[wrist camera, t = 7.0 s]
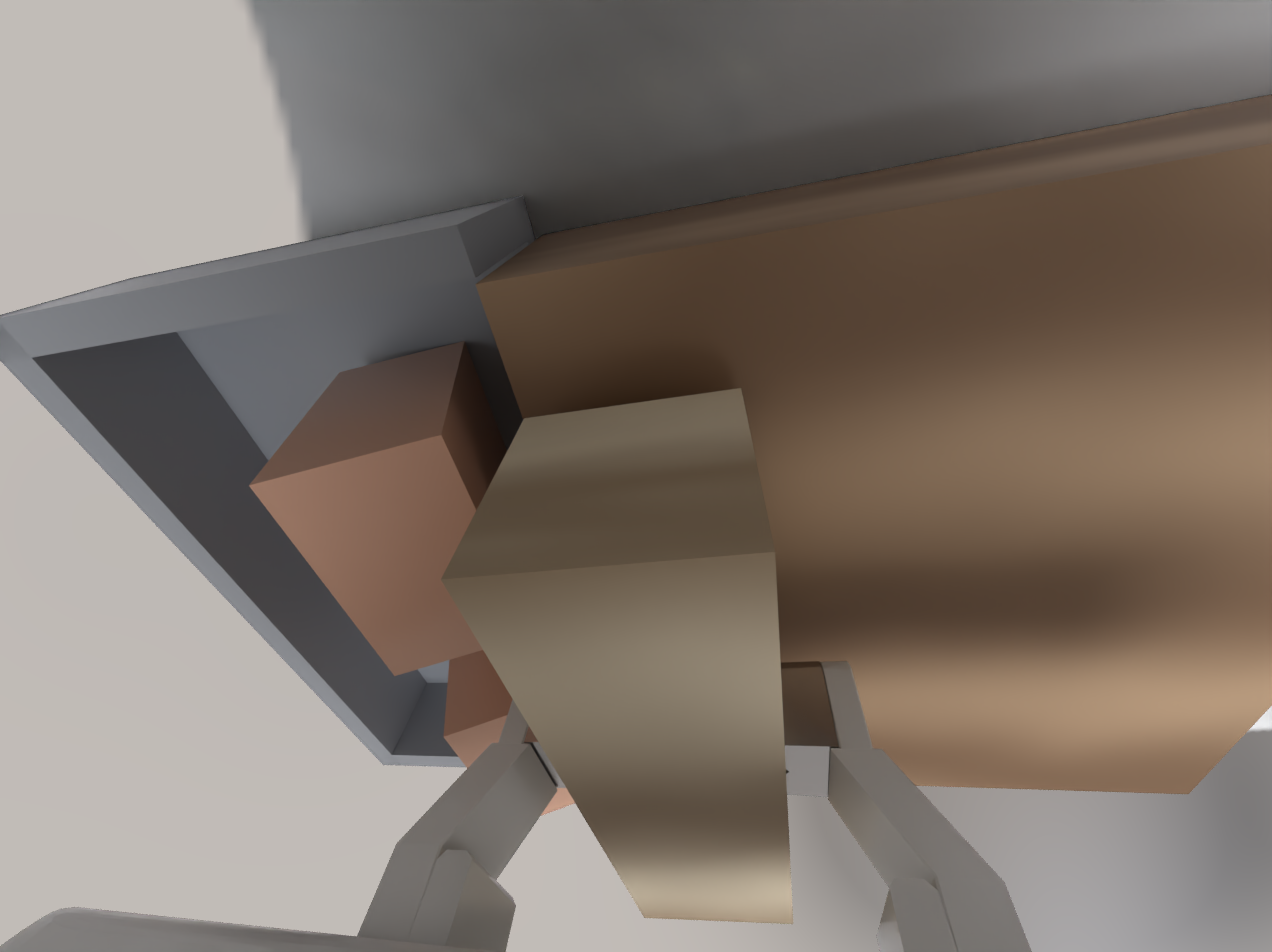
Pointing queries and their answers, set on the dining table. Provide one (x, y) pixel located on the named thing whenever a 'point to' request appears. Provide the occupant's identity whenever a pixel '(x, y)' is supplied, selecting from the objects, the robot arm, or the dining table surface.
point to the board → (977, 430)
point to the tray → (271, 417)
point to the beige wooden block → (645, 642)
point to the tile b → (480, 713)
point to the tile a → (390, 496)
